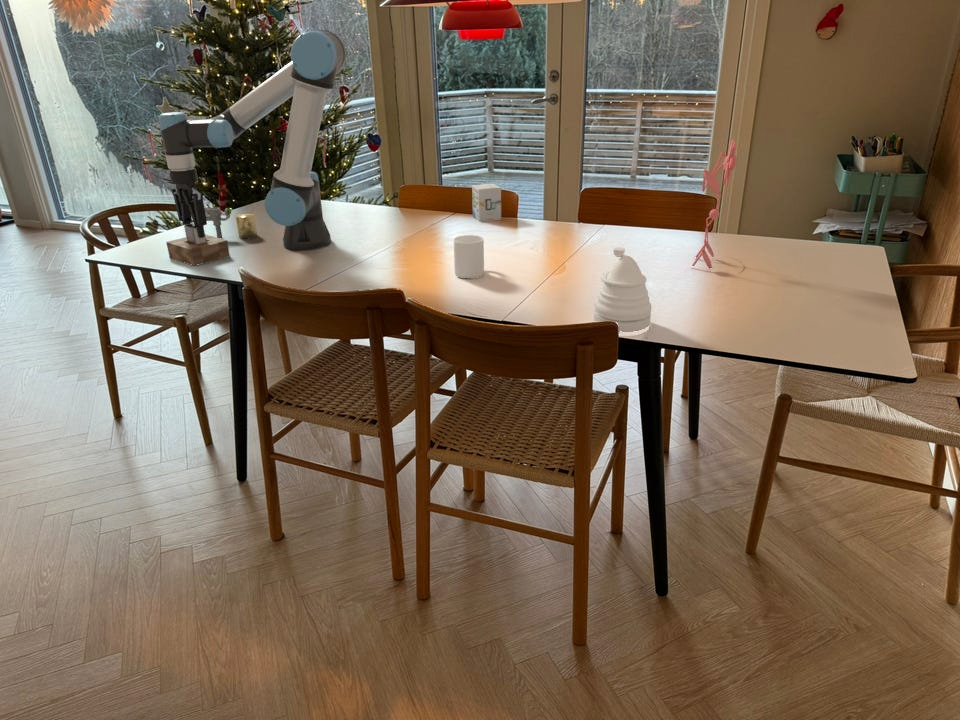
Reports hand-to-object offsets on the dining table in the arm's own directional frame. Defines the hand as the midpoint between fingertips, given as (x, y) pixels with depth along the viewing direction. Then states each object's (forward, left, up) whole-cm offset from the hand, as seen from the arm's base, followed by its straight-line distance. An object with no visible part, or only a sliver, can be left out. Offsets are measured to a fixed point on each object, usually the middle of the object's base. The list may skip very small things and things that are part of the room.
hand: (197, 245), depth 214 cm
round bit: (+8, -23, -4) cm, 25 cm away
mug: (-78, -38, -4) cm, 87 cm away
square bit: (0, 0, -4) cm, 4 cm away
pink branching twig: (-131, -84, -4) cm, 156 cm away
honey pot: (-130, -29, -4) cm, 133 cm away
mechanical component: (+14, -16, -4) cm, 22 cm away
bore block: (0, 0, -3) cm, 3 cm away
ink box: (-43, -89, -4) cm, 99 cm away
